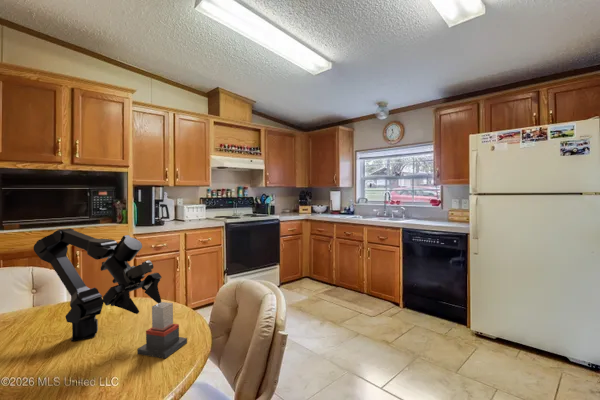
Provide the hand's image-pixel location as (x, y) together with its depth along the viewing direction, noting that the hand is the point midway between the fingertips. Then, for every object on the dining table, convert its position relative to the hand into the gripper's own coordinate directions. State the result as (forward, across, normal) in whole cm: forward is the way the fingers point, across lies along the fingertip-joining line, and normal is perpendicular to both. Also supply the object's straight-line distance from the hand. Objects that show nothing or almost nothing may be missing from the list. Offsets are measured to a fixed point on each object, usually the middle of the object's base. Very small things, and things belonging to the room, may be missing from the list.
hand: (149, 307), depth 95 cm
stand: (+12, 0, +5) cm, 13 cm away
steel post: (+11, 0, +4) cm, 12 cm away
